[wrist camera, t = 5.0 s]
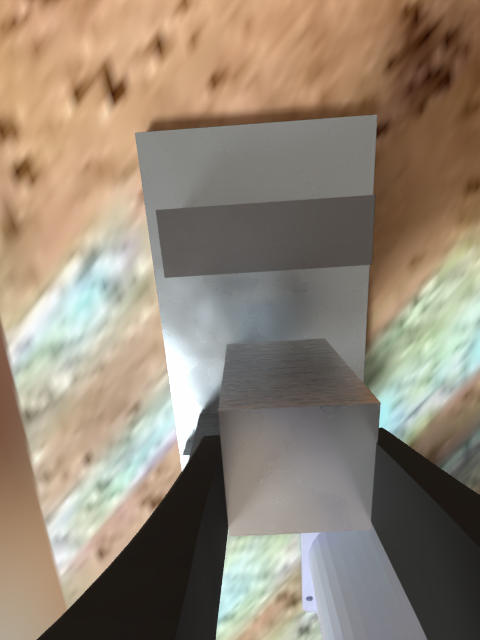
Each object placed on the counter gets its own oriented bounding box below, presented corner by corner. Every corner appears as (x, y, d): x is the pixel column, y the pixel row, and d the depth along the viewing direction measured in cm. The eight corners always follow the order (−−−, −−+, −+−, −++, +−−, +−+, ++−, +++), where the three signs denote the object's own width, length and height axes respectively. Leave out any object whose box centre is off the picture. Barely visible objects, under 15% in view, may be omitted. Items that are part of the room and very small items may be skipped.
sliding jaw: (342, 258, 15) (371, 264, 11) (181, 268, 15) (164, 278, 12) (343, 205, 14) (375, 194, 11) (176, 216, 14) (155, 209, 11)
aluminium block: (323, 424, 13) (371, 530, 8) (233, 428, 13) (229, 536, 8) (324, 338, 12) (380, 402, 7) (226, 343, 12) (218, 410, 7)
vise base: (352, 467, 20) (386, 538, 15) (187, 475, 20) (170, 547, 15) (368, 122, 14) (428, 68, 10) (142, 139, 15) (95, 94, 10)
